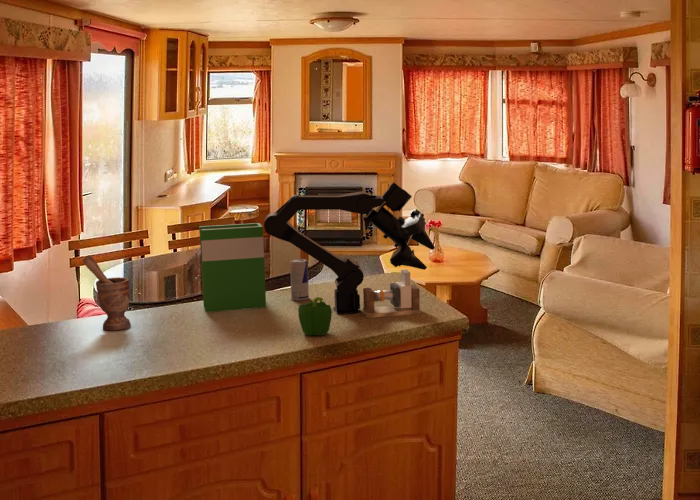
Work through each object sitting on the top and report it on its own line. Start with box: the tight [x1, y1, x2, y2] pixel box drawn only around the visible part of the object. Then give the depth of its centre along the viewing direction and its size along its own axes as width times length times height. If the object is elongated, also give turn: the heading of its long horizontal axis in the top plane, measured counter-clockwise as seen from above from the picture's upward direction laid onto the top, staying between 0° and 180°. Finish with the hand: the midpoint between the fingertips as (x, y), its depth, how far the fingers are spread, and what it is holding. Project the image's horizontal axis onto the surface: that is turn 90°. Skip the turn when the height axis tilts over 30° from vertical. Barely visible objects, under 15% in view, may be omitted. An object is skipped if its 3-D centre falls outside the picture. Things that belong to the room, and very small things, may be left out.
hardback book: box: [198, 222, 267, 313], centre depth 226 cm, size 18×7×24 cm, turn 104°
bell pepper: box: [297, 297, 332, 337], centre depth 198 cm, size 8×8×10 cm
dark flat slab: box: [389, 282, 399, 307], centre depth 218 cm, size 1×6×6 cm, turn 11°
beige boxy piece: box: [394, 269, 412, 308], centre depth 218 cm, size 3×6×10 cm, turn 11°
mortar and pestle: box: [82, 255, 132, 331], centre depth 207 cm, size 12×9×20 cm
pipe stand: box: [362, 284, 421, 318], centre depth 218 cm, size 15×7×7 cm, turn 101°
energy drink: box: [289, 258, 310, 302], centre depth 235 cm, size 5×5×12 cm
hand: (429, 258), depth 220 cm, fingers open, 9 cm apart
